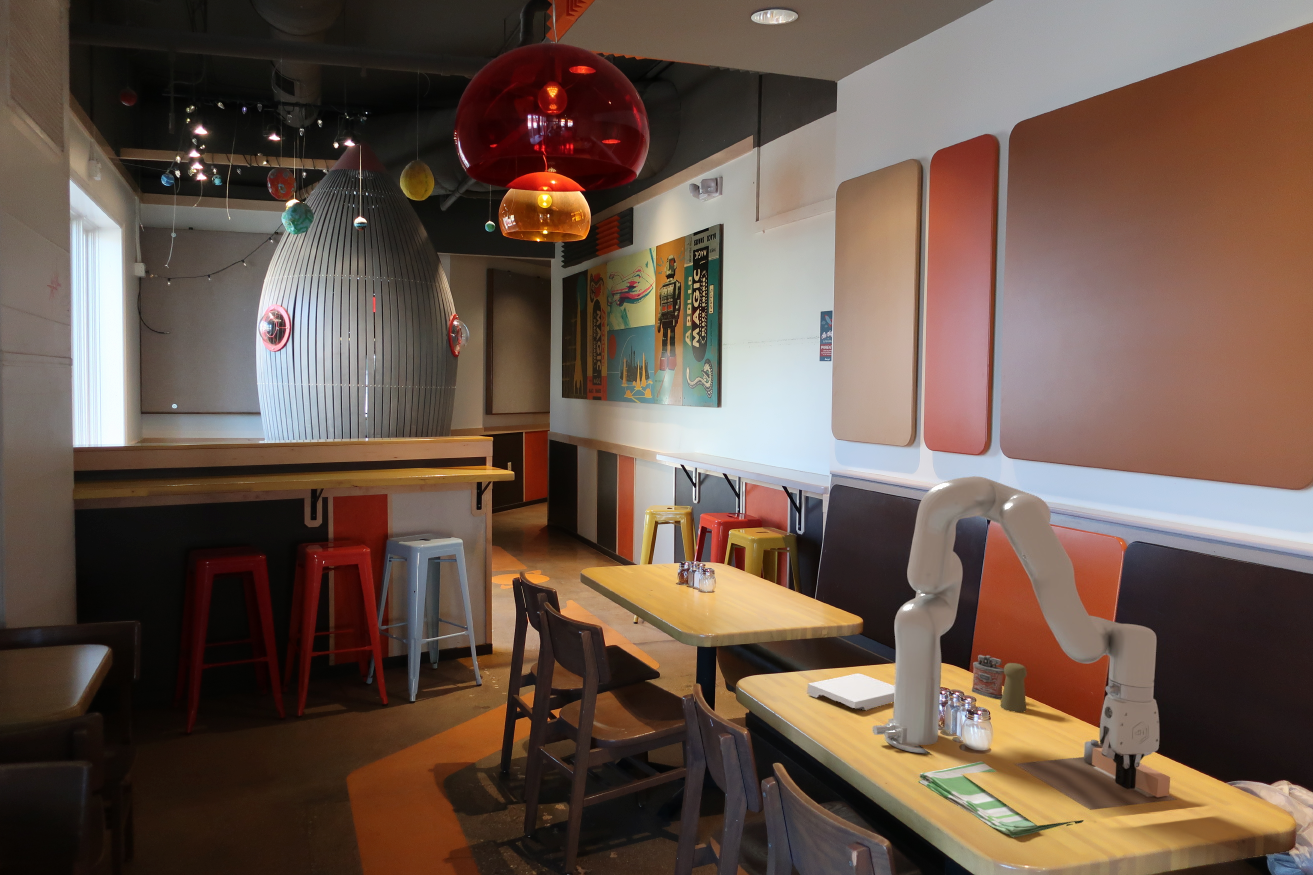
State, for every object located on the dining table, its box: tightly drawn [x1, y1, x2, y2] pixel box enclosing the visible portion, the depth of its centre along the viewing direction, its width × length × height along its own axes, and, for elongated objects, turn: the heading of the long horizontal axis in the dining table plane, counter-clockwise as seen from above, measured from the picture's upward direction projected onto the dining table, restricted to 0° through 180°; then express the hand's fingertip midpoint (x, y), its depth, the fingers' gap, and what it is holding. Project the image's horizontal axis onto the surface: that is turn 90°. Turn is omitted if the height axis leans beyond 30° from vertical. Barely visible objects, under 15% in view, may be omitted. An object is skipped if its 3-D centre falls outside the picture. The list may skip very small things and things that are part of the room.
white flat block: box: [806, 673, 895, 711], centre depth 213 cm, size 15×3×20 cm
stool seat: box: [1014, 756, 1178, 811], centre depth 164 cm, size 20×20×2 cm
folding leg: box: [1083, 739, 1171, 797], centre depth 166 cm, size 18×4×4 cm, turn 19°
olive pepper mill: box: [999, 662, 1028, 713], centre depth 209 cm, size 6×6×11 cm
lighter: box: [971, 654, 1005, 700], centre depth 219 cm, size 8×3×10 cm, turn 40°
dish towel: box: [918, 761, 1085, 838], centre depth 157 cm, size 18×23×3 cm
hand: (1125, 785), depth 160 cm, fingers closed
